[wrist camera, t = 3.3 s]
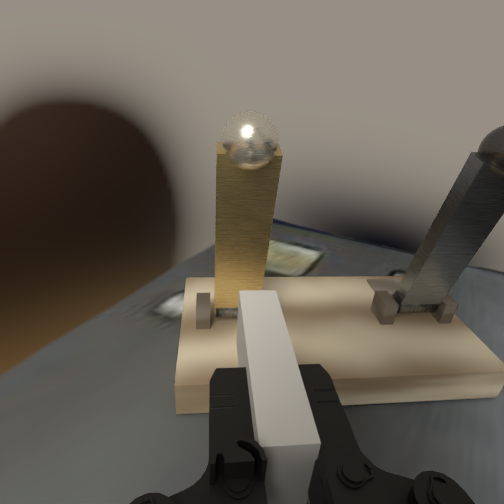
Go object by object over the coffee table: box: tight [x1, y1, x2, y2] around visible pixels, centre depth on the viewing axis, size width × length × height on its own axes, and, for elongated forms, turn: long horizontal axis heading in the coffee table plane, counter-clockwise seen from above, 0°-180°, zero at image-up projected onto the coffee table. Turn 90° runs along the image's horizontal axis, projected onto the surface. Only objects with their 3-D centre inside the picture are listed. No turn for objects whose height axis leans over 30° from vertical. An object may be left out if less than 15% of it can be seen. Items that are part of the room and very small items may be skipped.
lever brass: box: [214, 111, 283, 317], centre depth 21 cm, size 3×3×15 cm
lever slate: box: [392, 126, 504, 313], centre depth 23 cm, size 3×3×15 cm
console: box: [174, 276, 504, 414], centre depth 27 cm, size 12×22×4 cm, turn 96°
